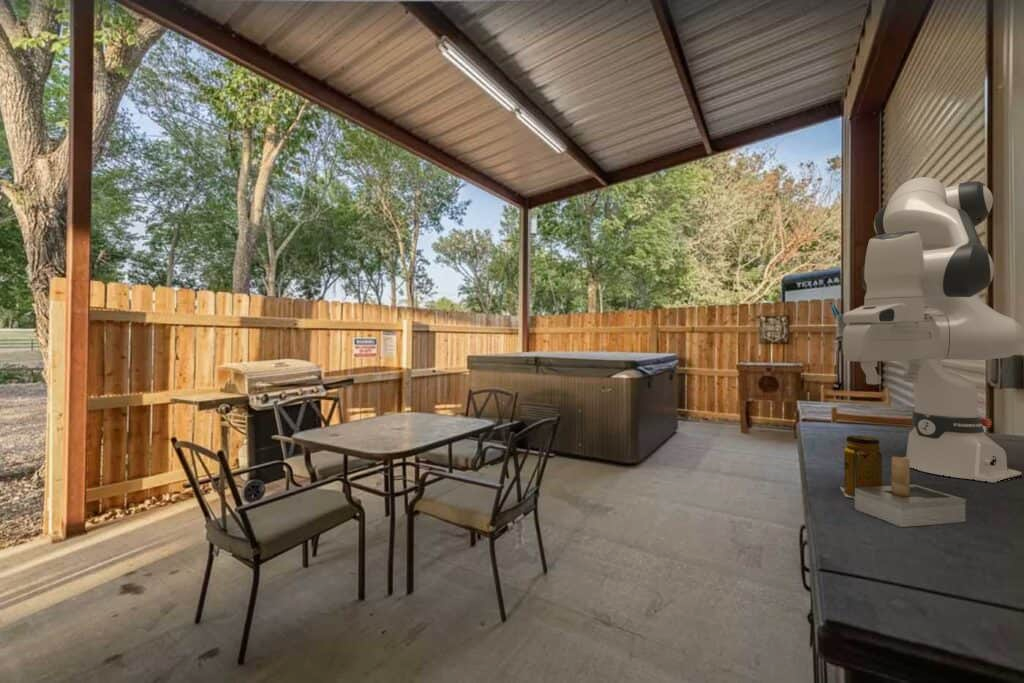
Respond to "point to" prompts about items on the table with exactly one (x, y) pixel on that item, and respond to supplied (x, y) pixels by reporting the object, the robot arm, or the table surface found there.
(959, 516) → the keyhole plate
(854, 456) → the condiment
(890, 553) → the table surface
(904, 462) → the peg
